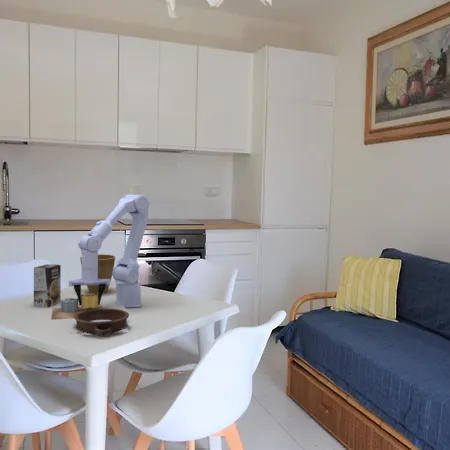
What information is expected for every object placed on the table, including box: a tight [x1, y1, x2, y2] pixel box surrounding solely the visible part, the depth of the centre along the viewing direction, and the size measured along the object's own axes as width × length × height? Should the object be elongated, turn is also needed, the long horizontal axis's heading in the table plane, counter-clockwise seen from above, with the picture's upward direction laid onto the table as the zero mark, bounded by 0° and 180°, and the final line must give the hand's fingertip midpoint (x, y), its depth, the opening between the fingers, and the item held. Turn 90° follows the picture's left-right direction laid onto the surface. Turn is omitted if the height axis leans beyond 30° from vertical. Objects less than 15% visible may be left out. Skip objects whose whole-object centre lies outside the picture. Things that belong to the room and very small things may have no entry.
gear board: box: [50, 297, 104, 320], centre depth 175 cm, size 18×16×6 cm
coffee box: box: [33, 264, 62, 309], centre depth 185 cm, size 9×6×16 cm
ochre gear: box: [80, 293, 99, 308], centre depth 178 cm, size 6×6×4 cm
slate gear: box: [60, 297, 79, 313], centre depth 177 cm, size 6×6×4 cm
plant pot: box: [79, 253, 116, 295], centre depth 213 cm, size 15×15×16 cm
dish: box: [73, 308, 130, 337], centre depth 159 cm, size 18×22×5 cm
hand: (89, 304), depth 179 cm, fingers closed on ochre gear, 6 cm apart
